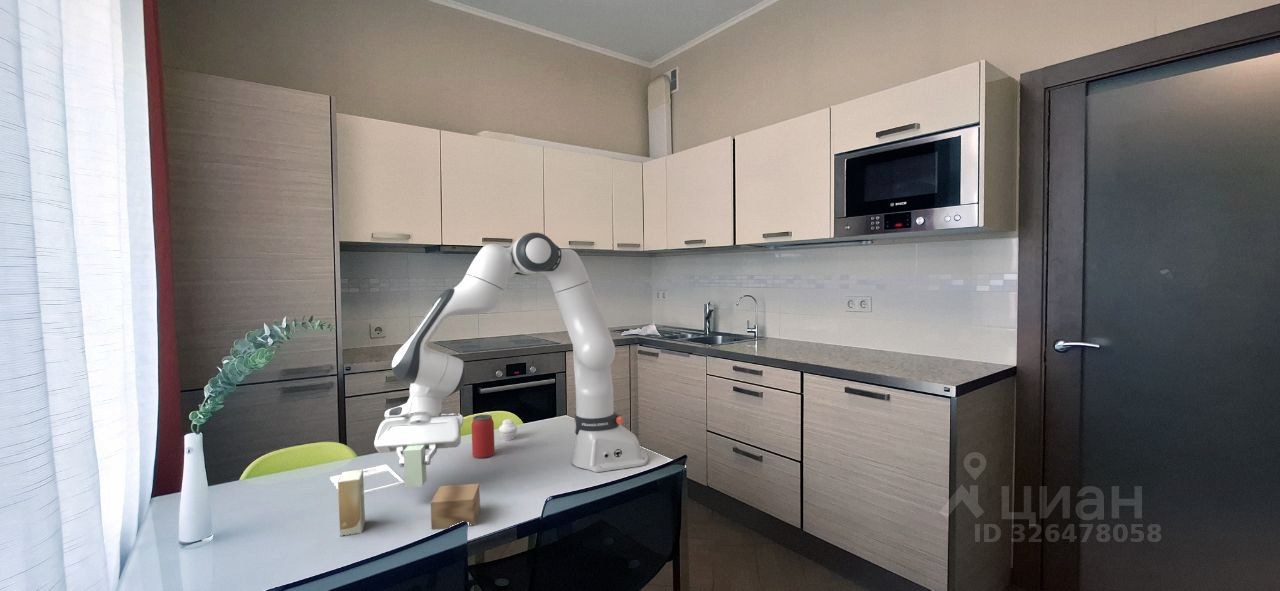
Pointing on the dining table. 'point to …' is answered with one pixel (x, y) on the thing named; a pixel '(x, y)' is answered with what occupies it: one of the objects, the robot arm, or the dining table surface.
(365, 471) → the photo frame
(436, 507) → the walnut block
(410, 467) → the sage pillar
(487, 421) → the beer can
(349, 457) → the dining table surface
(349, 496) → the skincare box
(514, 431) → the muffin
